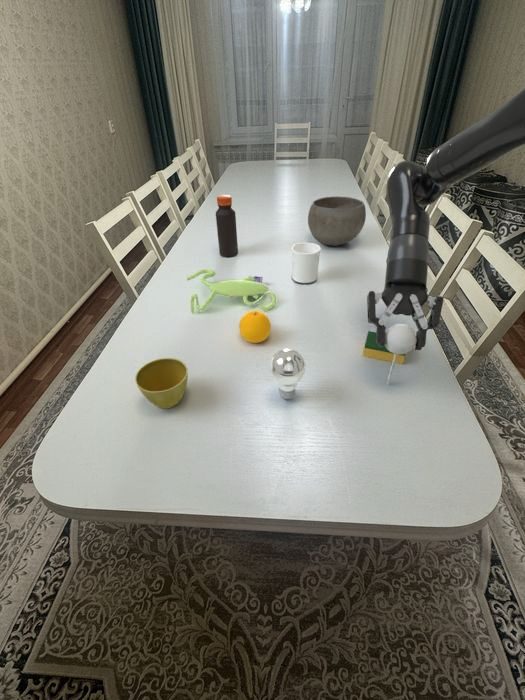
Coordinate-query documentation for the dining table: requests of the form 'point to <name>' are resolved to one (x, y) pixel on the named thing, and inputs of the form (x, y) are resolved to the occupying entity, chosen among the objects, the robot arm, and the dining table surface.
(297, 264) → the mug
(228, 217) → the bottle
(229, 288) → the figurine
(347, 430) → the dining table surface
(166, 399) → the flower pot
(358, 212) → the bowl
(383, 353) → the sponge
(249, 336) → the orange
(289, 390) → the light bulb
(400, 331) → the lollipop
